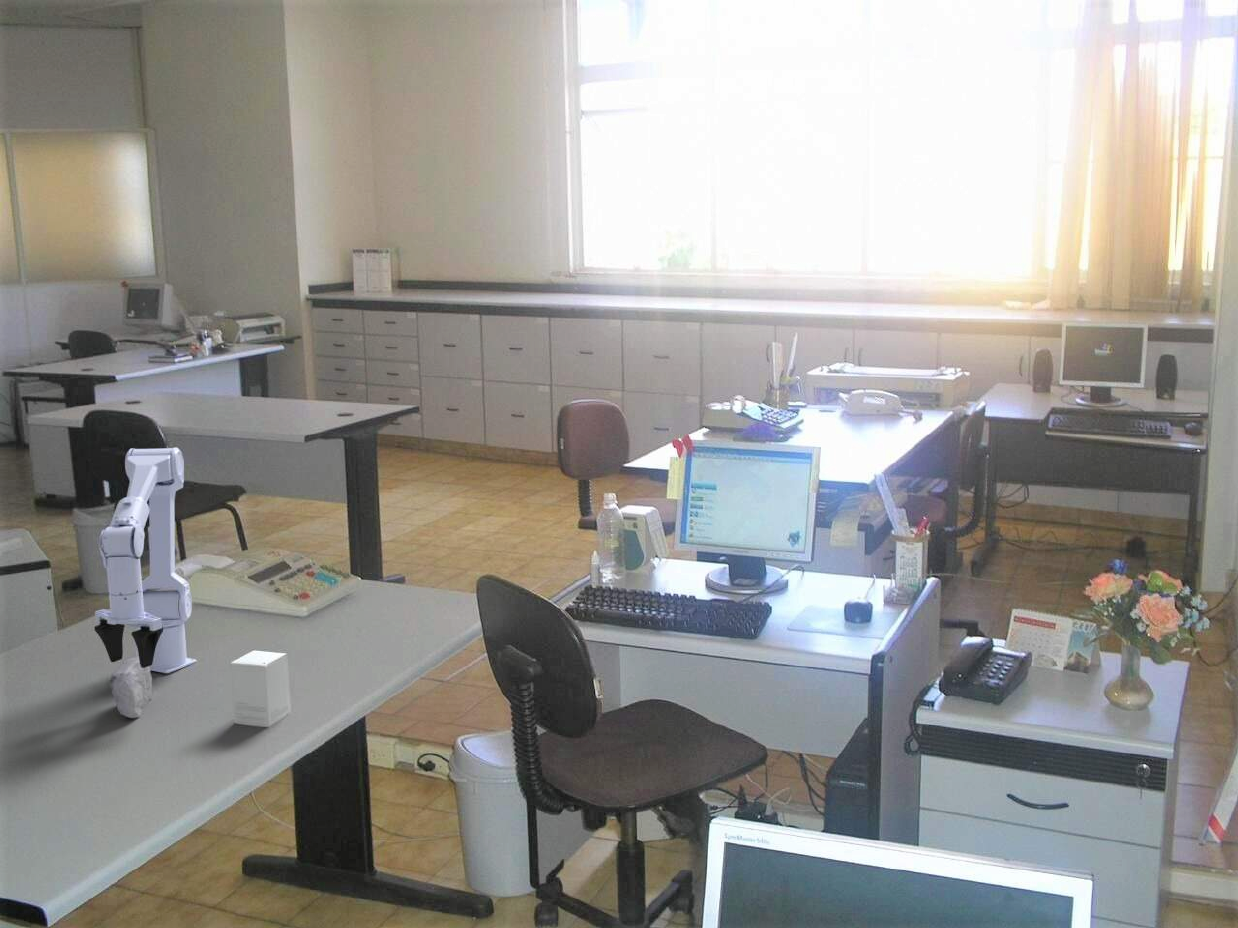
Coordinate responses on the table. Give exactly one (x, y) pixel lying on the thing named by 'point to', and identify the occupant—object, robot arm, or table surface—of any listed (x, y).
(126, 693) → the stone block
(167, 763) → the table surface
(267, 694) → the supplement box
